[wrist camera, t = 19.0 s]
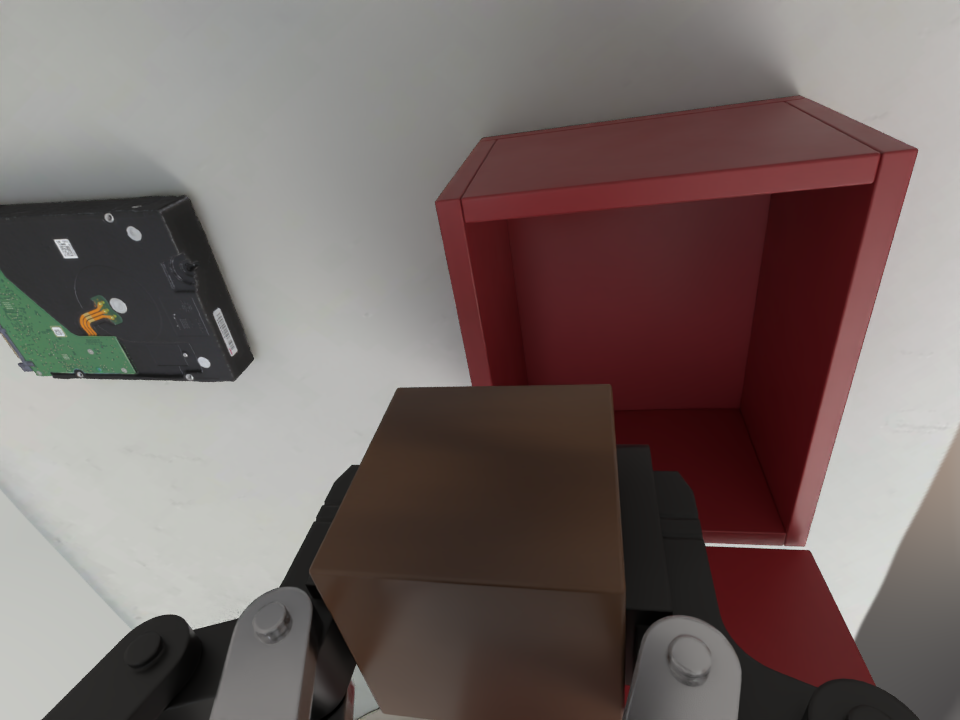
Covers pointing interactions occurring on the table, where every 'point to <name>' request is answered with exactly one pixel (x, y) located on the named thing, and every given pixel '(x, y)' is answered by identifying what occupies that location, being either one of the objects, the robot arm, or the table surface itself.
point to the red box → (687, 286)
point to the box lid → (783, 614)
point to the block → (485, 556)
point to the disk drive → (116, 292)
